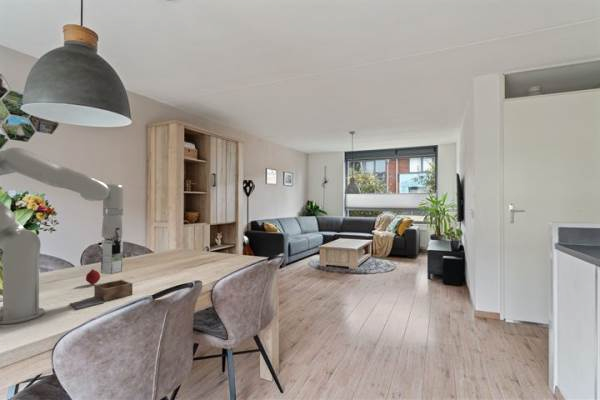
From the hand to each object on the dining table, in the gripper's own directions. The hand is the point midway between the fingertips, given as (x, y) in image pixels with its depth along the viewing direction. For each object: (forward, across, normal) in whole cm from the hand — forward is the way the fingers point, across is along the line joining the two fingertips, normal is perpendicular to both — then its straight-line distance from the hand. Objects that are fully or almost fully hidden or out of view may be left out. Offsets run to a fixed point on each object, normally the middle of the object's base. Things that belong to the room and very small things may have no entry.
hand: (112, 252), depth 130 cm
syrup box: (+9, 0, 0) cm, 9 cm away
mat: (+19, +3, -10) cm, 22 cm away
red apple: (+19, -27, +2) cm, 33 cm away
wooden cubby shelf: (+19, 0, +1) cm, 19 cm away
